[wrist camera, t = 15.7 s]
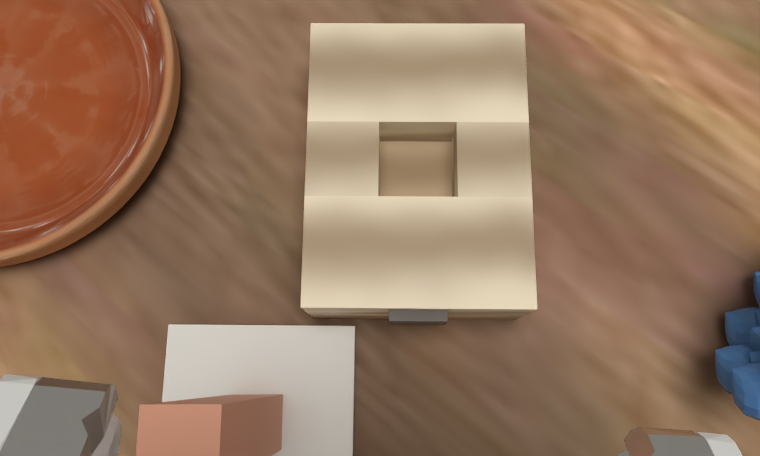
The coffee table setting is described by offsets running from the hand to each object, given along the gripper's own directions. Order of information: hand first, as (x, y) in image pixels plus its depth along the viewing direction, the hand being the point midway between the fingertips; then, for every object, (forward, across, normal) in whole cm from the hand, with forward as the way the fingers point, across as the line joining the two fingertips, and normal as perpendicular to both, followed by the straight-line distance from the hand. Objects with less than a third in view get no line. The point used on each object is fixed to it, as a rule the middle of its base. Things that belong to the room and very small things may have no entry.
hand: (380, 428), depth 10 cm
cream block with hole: (+28, -5, +13) cm, 31 cm away
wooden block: (+17, +3, +23) cm, 29 cm away
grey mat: (+17, +3, +23) cm, 29 cm away
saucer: (+34, +21, +13) cm, 42 cm away
